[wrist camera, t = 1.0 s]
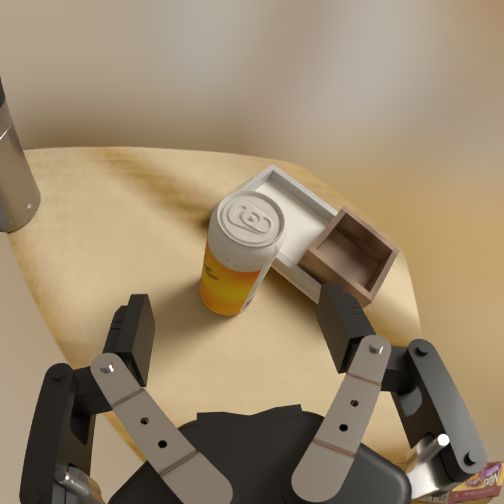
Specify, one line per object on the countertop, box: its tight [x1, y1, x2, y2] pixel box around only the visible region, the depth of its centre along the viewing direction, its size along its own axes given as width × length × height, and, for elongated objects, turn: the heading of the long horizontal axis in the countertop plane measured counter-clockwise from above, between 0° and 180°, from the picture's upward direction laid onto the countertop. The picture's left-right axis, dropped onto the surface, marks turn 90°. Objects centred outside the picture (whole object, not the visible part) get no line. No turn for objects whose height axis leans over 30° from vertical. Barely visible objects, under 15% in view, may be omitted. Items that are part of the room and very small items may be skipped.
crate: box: [297, 206, 399, 309], centre depth 38 cm, size 10×10×5 cm
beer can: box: [200, 190, 286, 316], centre depth 30 cm, size 6×6×15 cm
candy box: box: [393, 461, 504, 504], centre depth 21 cm, size 9×4×15 cm, turn 71°
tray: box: [237, 165, 338, 305], centre depth 41 cm, size 22×13×3 cm, turn 51°
